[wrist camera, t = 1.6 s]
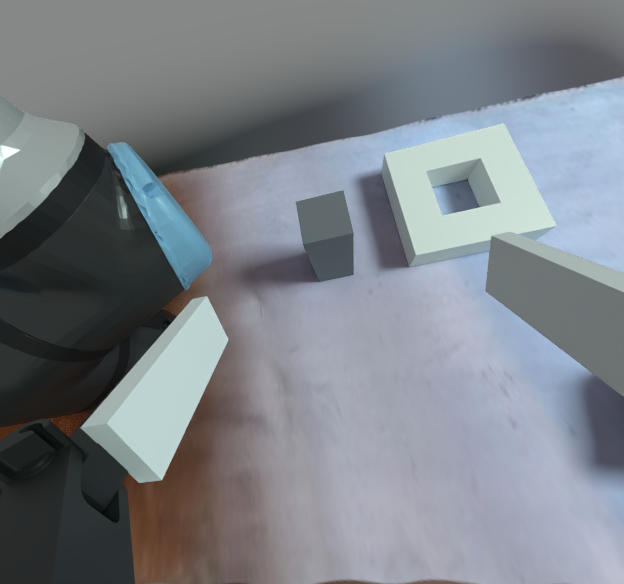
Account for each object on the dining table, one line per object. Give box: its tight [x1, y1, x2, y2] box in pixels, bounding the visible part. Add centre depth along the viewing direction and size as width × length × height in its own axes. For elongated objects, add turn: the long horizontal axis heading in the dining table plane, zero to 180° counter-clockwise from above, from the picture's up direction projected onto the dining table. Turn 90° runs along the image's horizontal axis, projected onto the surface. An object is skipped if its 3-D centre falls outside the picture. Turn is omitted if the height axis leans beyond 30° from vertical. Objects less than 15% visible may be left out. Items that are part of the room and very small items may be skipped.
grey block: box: [296, 191, 353, 282], centre depth 31 cm, size 5×5×12 cm
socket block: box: [381, 123, 557, 267], centre depth 34 cm, size 16×16×4 cm
